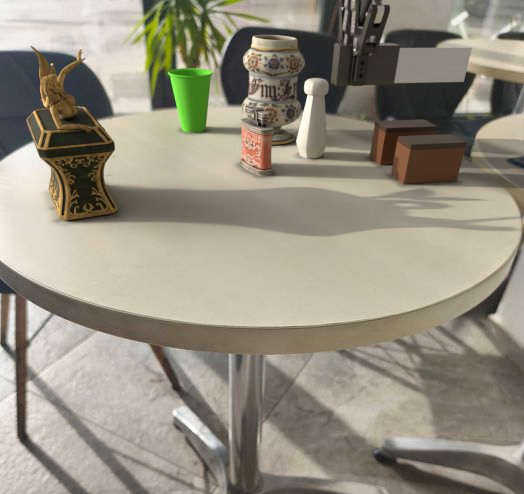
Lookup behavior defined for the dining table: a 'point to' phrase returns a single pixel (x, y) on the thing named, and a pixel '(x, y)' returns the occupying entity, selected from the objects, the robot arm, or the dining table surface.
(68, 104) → the decorative box
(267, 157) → the lighter
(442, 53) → the knife
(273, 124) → the apothecary jar
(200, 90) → the cup
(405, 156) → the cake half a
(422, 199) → the dining table surface
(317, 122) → the salt shaker
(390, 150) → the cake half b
